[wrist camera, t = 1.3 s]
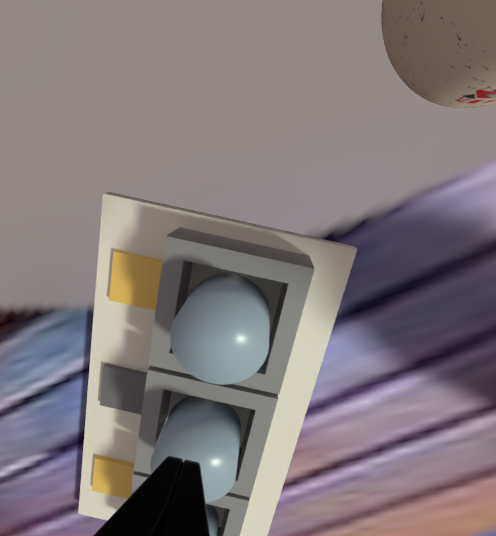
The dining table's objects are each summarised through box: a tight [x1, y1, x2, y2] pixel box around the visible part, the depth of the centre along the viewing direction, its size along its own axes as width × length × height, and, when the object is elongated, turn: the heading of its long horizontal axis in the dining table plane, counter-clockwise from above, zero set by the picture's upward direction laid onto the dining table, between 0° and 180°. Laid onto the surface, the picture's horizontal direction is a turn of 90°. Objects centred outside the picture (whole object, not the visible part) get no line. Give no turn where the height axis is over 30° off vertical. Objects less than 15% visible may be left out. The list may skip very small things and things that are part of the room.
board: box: [78, 192, 357, 536], centre depth 21 cm, size 14×24×3 cm, turn 168°
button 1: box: [170, 274, 270, 385], centre depth 16 cm, size 4×4×3 cm
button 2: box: [150, 396, 241, 503], centre depth 18 cm, size 4×4×3 cm
